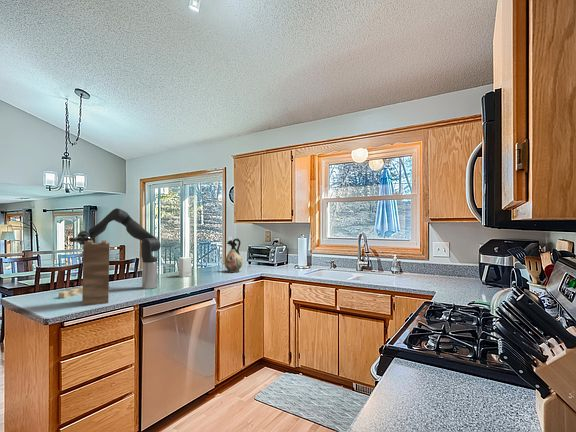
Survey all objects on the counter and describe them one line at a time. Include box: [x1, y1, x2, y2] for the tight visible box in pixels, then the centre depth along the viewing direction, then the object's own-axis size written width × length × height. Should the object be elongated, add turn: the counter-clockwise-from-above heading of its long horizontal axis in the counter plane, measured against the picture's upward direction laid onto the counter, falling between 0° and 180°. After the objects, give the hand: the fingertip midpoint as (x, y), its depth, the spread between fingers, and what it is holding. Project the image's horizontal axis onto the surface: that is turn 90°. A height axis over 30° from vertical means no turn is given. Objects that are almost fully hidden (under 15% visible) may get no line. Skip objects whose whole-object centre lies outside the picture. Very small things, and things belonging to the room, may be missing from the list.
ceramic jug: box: [224, 238, 243, 273], centre depth 289 cm, size 17×15×30 cm
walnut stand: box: [81, 239, 110, 306], centre depth 179 cm, size 12×12×34 cm
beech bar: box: [58, 286, 83, 299], centre depth 199 cm, size 26×4×4 cm, turn 172°
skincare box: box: [178, 256, 192, 278], centre depth 263 cm, size 8×7×16 cm
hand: (81, 240), depth 212 cm, fingers open, 8 cm apart
